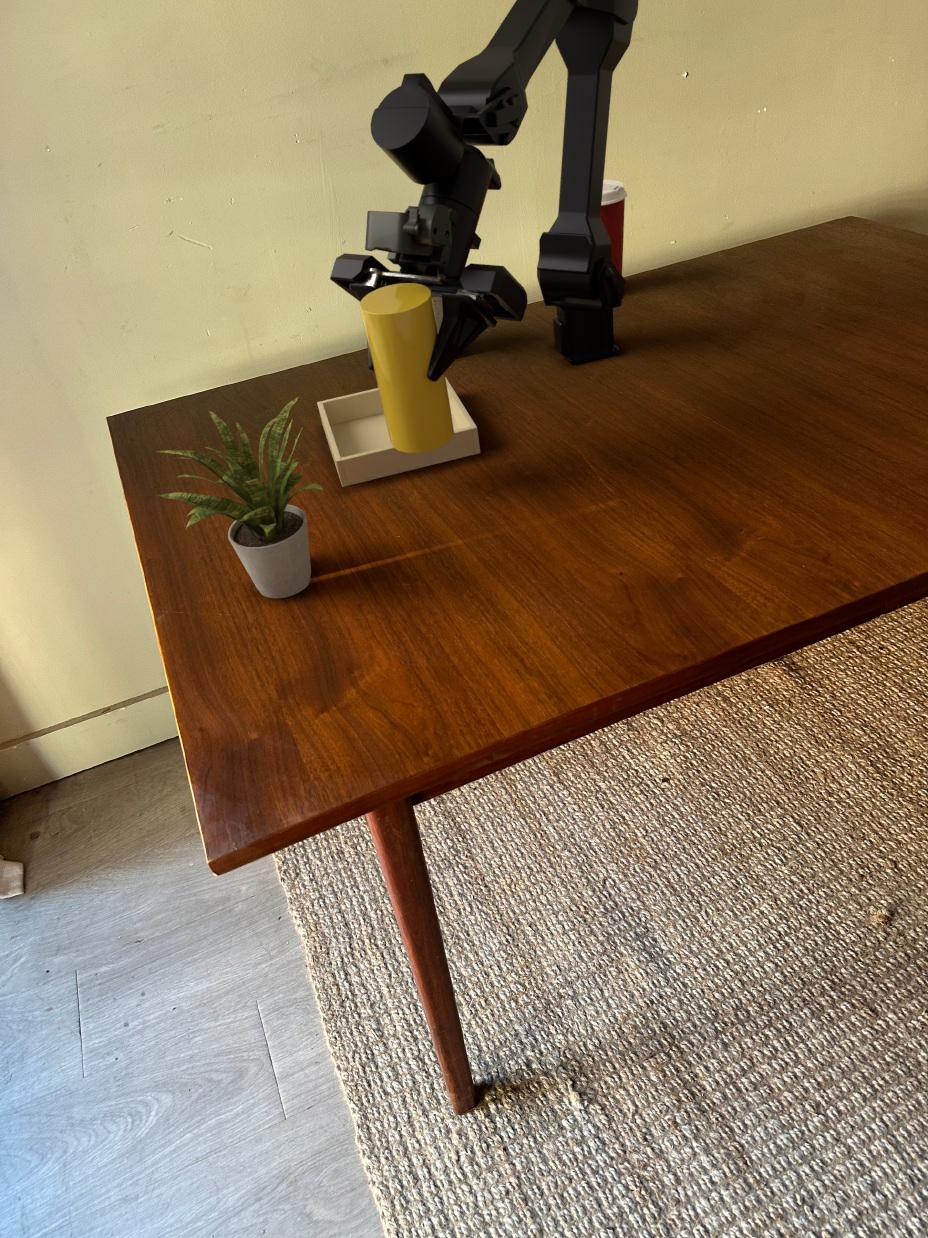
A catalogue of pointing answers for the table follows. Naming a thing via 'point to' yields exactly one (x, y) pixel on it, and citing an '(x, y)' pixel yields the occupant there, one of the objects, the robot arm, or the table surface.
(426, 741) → the table surface
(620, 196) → the paper cup
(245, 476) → the house plant
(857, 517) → the table surface
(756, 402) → the table surface
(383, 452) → the white rectangular tray
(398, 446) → the yellow cylinder
